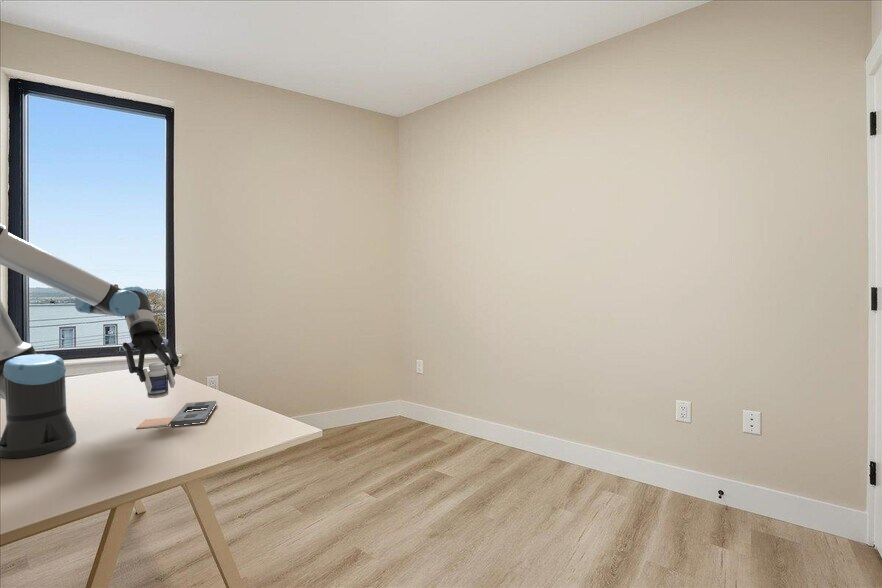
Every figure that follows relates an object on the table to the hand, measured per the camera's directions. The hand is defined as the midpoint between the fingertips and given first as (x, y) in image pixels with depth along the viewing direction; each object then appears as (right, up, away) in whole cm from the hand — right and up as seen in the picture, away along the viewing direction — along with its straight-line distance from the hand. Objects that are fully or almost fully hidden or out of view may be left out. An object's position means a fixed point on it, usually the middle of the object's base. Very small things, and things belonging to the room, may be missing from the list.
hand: (161, 387), depth 134 cm
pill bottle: (-3, -3, +3) cm, 5 cm away
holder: (+5, -11, +10) cm, 15 cm away
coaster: (-3, -11, +2) cm, 12 cm away
